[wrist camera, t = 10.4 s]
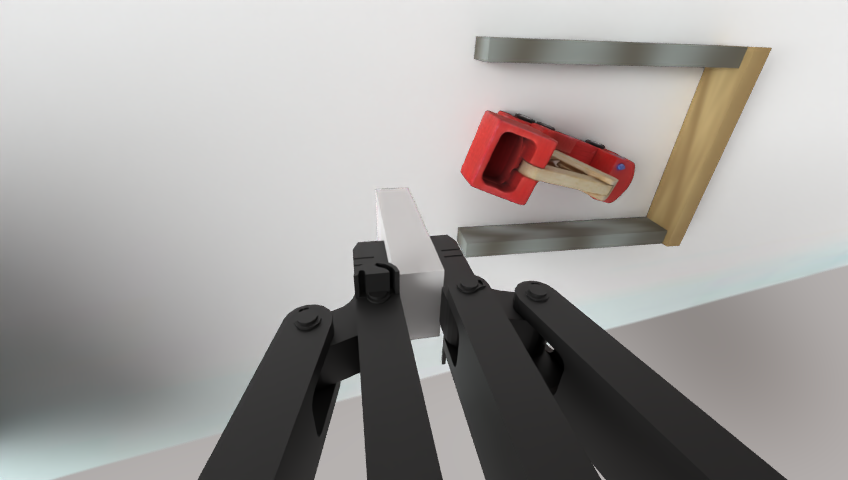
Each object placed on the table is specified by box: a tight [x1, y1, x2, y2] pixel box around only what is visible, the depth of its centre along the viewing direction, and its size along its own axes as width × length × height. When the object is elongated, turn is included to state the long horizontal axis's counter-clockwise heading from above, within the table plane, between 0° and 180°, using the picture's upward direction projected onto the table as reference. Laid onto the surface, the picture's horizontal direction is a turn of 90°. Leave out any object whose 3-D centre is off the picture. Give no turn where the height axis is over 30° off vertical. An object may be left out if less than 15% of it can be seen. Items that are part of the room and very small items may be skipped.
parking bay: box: [457, 37, 772, 257], centre depth 25 cm, size 18×14×3 cm
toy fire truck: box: [461, 110, 635, 205], centre depth 22 cm, size 3×14×10 cm, turn 71°
